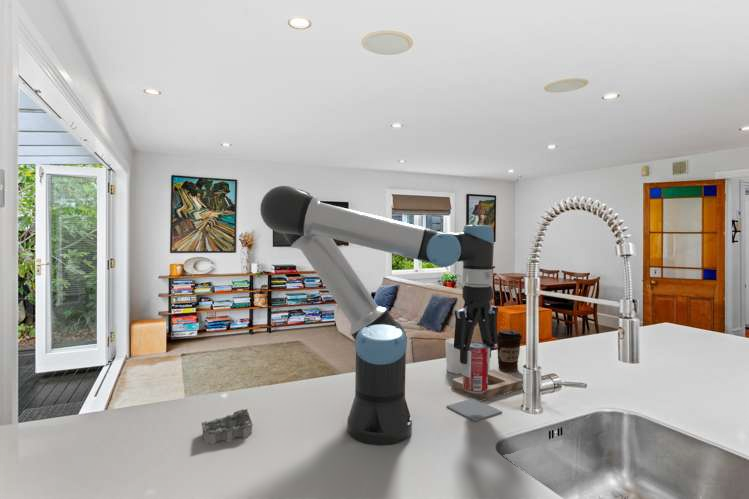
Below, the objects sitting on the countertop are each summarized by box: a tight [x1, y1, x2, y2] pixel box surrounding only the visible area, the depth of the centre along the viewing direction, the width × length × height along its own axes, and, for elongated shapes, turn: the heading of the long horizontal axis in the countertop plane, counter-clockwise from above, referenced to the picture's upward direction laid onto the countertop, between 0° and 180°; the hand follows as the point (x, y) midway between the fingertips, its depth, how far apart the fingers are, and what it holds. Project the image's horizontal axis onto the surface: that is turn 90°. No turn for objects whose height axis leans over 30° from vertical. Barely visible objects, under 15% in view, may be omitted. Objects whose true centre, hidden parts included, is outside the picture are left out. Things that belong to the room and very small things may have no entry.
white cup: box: [445, 337, 465, 375], centre depth 142 cm, size 8×8×10 cm
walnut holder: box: [451, 368, 524, 402], centre depth 127 cm, size 18×12×2 cm, turn 123°
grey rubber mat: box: [446, 397, 503, 423], centre depth 112 cm, size 10×10×1 cm
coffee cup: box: [496, 329, 523, 373], centre depth 144 cm, size 9×8×13 cm
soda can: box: [462, 341, 489, 393], centre depth 111 cm, size 6×6×12 cm
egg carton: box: [201, 408, 254, 445], centre depth 97 cm, size 11×8×4 cm
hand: (475, 373), depth 111 cm, fingers closed on soda can, 6 cm apart
